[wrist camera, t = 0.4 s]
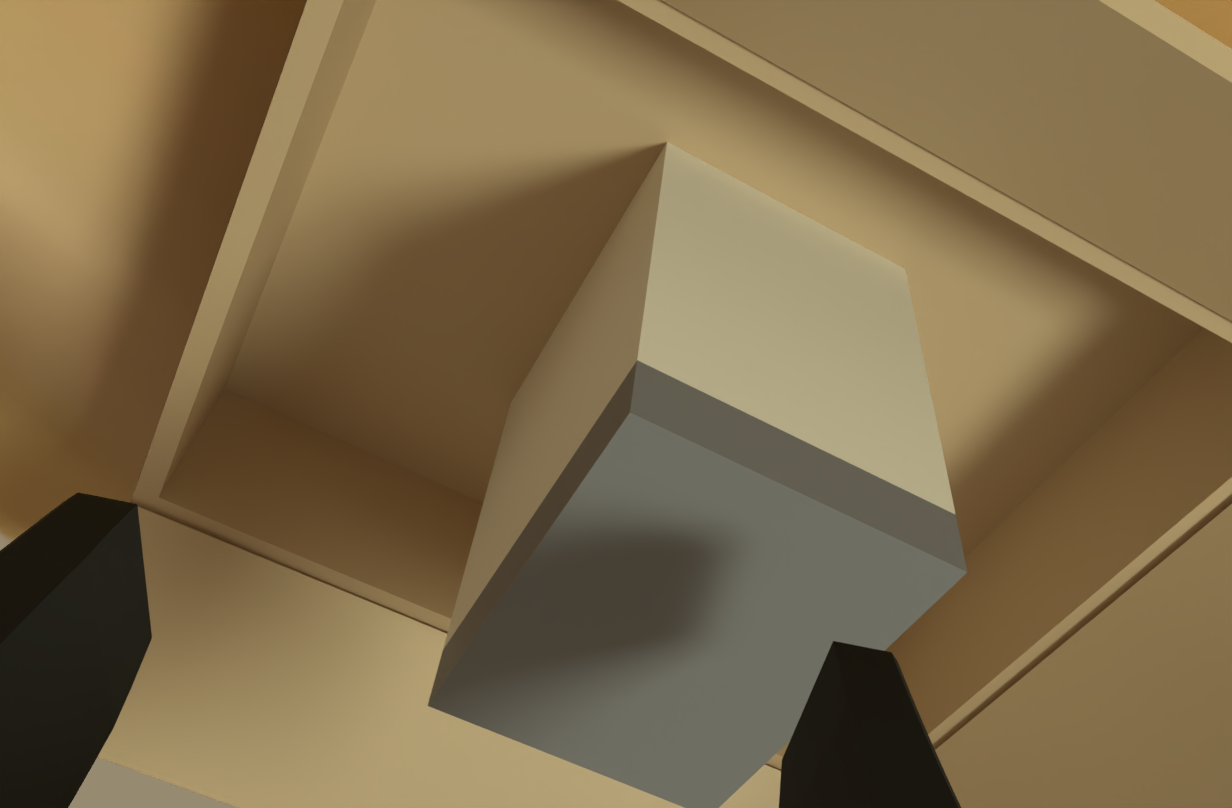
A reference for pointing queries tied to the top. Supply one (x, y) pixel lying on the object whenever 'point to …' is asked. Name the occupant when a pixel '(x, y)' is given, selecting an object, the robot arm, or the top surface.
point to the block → (702, 495)
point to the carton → (548, 281)
